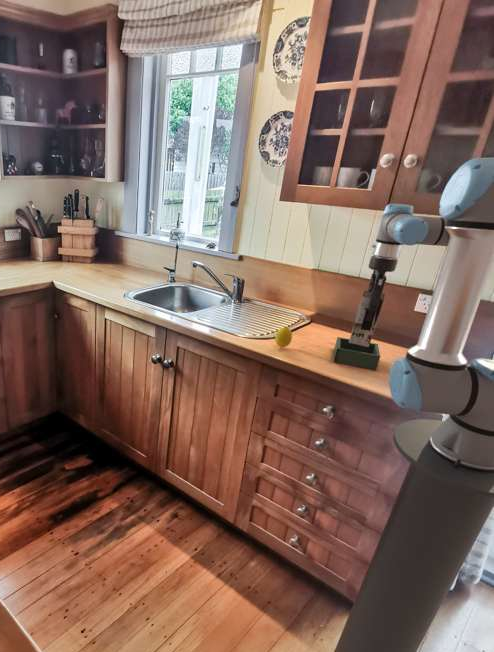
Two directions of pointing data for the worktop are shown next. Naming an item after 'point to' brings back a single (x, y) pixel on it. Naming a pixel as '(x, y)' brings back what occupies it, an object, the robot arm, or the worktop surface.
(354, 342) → the coffee box
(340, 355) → the box
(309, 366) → the worktop surface
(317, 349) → the worktop surface
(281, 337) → the lemon
